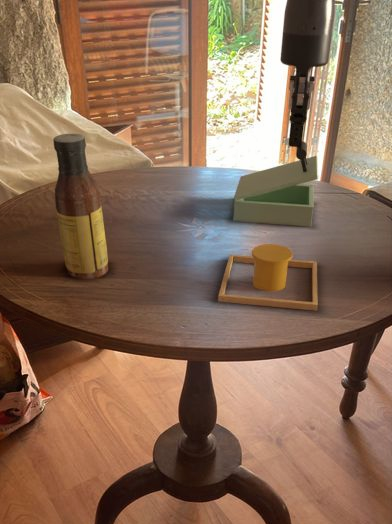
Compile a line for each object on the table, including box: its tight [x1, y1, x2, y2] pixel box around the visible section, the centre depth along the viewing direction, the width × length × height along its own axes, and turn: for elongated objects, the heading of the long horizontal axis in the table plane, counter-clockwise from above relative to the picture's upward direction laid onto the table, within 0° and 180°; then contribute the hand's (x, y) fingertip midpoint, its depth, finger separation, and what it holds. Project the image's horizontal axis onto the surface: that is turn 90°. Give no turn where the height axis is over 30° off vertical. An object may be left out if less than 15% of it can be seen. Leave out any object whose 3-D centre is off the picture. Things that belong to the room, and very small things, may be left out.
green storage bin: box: [232, 183, 315, 228], centre depth 104 cm, size 14×12×4 cm
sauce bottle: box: [53, 133, 109, 280], centre depth 79 cm, size 7×6×20 cm
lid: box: [233, 140, 319, 201], centre depth 100 cm, size 14×12×5 cm
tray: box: [217, 254, 318, 311], centre depth 81 cm, size 13×13×2 cm
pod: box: [251, 243, 293, 293], centre depth 80 cm, size 6×6×5 cm
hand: (294, 145), depth 97 cm, fingers closed
